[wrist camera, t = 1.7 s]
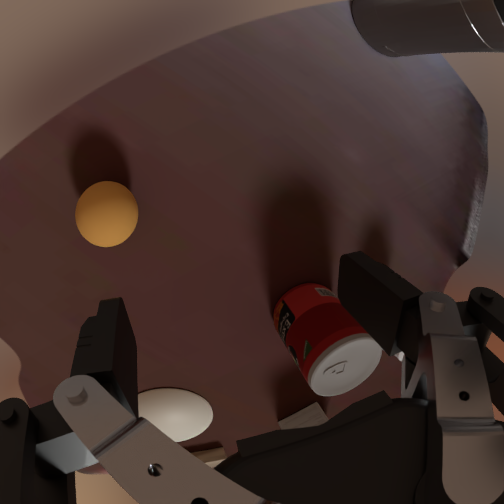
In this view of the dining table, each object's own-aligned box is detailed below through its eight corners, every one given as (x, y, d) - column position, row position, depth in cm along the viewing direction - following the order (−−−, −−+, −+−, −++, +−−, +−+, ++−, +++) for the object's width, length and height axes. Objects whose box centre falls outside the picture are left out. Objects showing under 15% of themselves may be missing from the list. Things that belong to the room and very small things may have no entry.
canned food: (263, 297, 35) (304, 363, 25) (327, 269, 36) (383, 322, 27) (278, 344, 39) (315, 408, 29) (335, 318, 40) (382, 373, 30)
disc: (108, 394, 35) (108, 395, 35) (206, 380, 38) (206, 381, 38) (136, 445, 40) (136, 446, 40) (217, 434, 43) (217, 435, 43)
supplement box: (289, 437, 49) (317, 493, 38) (276, 420, 46) (306, 483, 35) (326, 418, 50) (358, 471, 39) (317, 399, 46) (354, 459, 35)
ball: (78, 181, 25) (62, 195, 20) (135, 171, 26) (131, 183, 21) (88, 237, 27) (76, 262, 22) (143, 229, 28) (141, 252, 24)
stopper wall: (141, 459, 42) (142, 471, 40) (223, 447, 45) (226, 458, 43) (144, 464, 43) (146, 476, 40) (224, 452, 46) (227, 463, 44)
